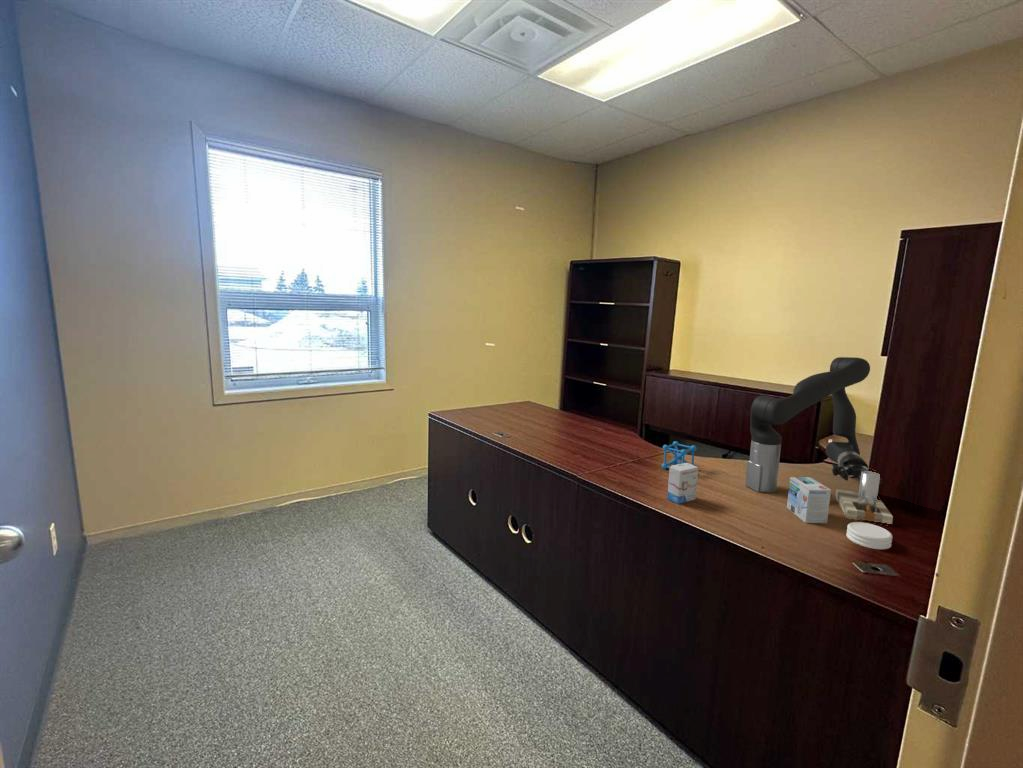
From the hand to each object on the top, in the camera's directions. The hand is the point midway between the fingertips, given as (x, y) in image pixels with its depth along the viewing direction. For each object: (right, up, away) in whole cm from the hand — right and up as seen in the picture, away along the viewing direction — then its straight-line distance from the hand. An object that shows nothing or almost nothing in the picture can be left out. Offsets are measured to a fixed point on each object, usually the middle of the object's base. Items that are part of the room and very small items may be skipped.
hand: (863, 479), depth 148 cm
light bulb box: (-21, -11, -4) cm, 24 cm away
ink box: (-55, -9, +8) cm, 57 cm away
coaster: (-13, -13, -19) cm, 27 cm away
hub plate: (-1, -10, -1) cm, 10 cm away
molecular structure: (-46, -4, +37) cm, 59 cm away
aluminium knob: (-3, -10, -5) cm, 12 cm away
